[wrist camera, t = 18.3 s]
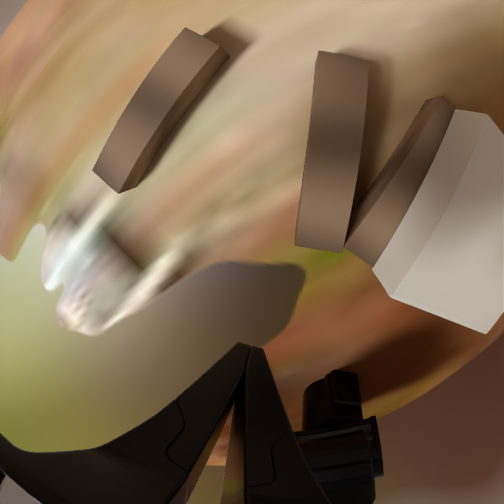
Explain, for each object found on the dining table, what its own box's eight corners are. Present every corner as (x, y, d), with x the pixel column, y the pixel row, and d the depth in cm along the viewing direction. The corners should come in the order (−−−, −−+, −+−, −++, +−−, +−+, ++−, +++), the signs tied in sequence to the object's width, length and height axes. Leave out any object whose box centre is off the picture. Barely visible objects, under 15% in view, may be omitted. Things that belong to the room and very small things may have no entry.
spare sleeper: (137, 186, 20) (118, 193, 18) (113, 165, 20) (92, 170, 17) (230, 58, 16) (220, 46, 13) (199, 39, 15) (185, 27, 13)
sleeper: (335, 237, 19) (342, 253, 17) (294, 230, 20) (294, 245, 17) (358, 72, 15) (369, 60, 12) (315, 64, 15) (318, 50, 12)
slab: (470, 314, 19) (486, 334, 17) (371, 269, 17) (390, 297, 14) (532, 208, 14) (553, 221, 12) (455, 109, 12) (487, 114, 9)
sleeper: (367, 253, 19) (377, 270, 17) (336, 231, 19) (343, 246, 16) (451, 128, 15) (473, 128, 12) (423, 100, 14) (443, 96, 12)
